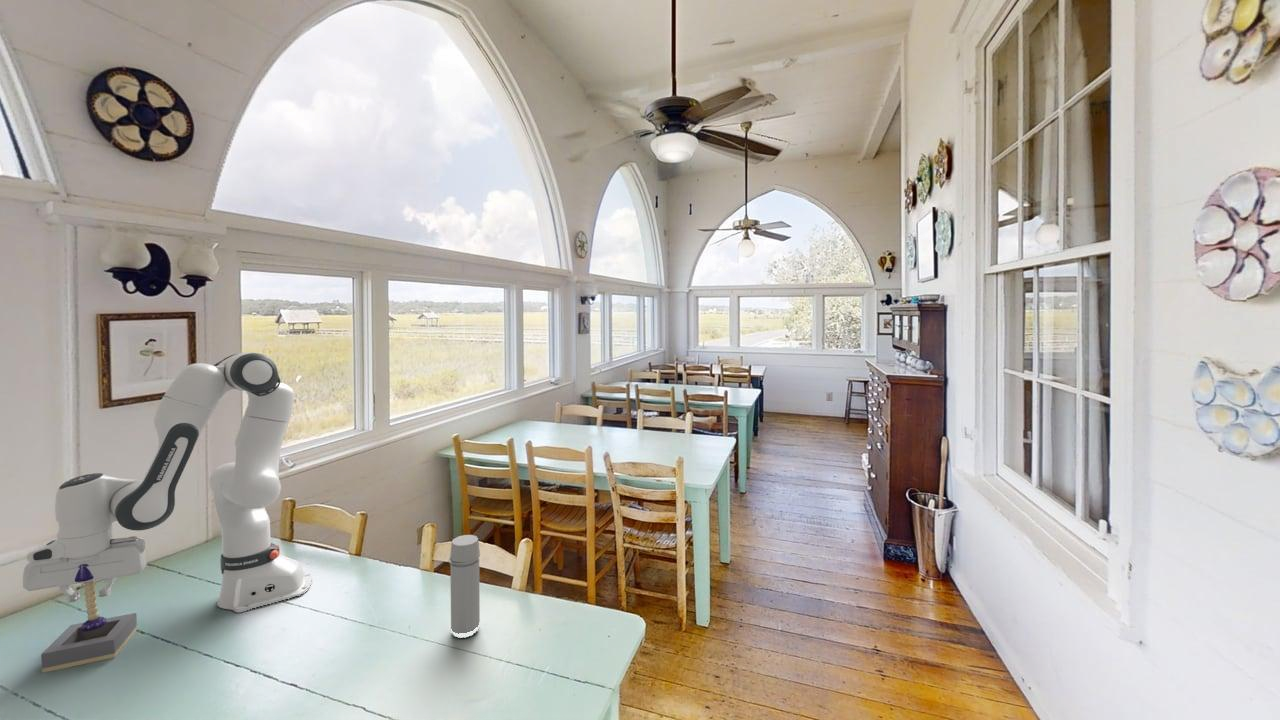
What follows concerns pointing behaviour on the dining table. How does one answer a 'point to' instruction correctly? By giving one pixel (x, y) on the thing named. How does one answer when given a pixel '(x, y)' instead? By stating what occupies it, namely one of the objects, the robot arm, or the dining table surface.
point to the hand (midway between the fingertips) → (89, 597)
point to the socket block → (89, 643)
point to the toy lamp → (89, 600)
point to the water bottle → (464, 583)
